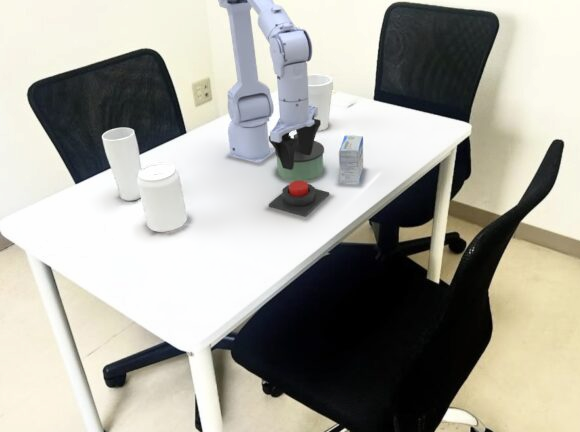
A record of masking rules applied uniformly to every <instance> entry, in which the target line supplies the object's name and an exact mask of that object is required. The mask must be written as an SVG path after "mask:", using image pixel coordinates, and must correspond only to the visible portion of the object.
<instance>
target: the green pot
mask: <svg viewBox="0 0 580 432" xmlns="http://www.w3.org/2000/svg"><path fill="white" fill-rule="evenodd" d="M276 167H277V174H278V175H279V177H281V178H283V179H284V180H287V181H291V182H294V181H305V182H307V181H311V180H313V179H316V178H318V177H319V176H321V175H322V174H323V172H324V154H323V155H322V156H320V157H319V158H317V159H315V160H312V161H307V162H294V167H293V169H292V170H289V169H285V168H283V167H282V164H281V161H280V159H279V158H278V157H277V156H276Z"/></svg>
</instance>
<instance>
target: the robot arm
mask: <svg viewBox="0 0 580 432" xmlns="http://www.w3.org/2000/svg"><path fill="white" fill-rule="evenodd" d="M217 1H218V4H219V5H218V6H219V7H220V8H223V9H226V12H227V15H228V22H229V29H230V36H231V44H232V51H233V57H234V64H235V72H236V79H237V81H236V83H234V84H233V85H232V87H231V88H230V89H228V90H227V111H228V115H229V118H230V122H229V125H228V128H227V136H228V143H229V154H228V156H230V157H234V158H238V159H242V160H247V161H251V162H255V163H261V162H262V161H264V160H265V159H267V158H268V157H269V156H271V155H272V154H275V150H276V152H277V154H278V156H279V158H280V161H281V164H282V167H283V168H285V169H289V170H292V169H293V167H294V153H295V147H296V144H297V142H298V140H299V148H300V152H301V154H304V155H309V156H310V155H311V152H312V148H313V143H314V141H315V138H316V135H317V133H318V131H317V130H318V128H319V126H320V125H321V121H320V120H318V119H314V117H316V116H318V108H317V107H316V106H310V105H309V98H308V75H309V74H308V62H310V61H311V59H312V57H313V44H312V39H311V37H310V35H309V32H308V31H307V30H306V28H301V27H300V26H298V27H297V26H296V25H295V24H294V22H293V20H292V19H291V18H290V16H289V14H288V13H287V12H286V10H285V9H284V7H283V6H281V5H279V4H275V2H274V0H217ZM252 9H253V10H254V11H255V13H256V14H257V15H258V16H257V25H258V28H259V29H260V31H261V33H262V35H263V36H264V37H265V39H266V41H267V43H268V44H269V54H270V58H271V62H272V67H273V73H274V74H275V75H276V83H277V96H278V97H277V98H278V111H279V118H278V120H277V122H276V124H274V127H273V128H272V129H271V130H270V131H269V129H268V122H270V118H271V117H272V116H273V115H274V114H273V113H274V102H273V98H272V95H271V90H270V88H269V86H268V85H267V84H265V83H264V82H262V81H260V80H259V75H258V73H259V72H258V66H257V59H256V58H257V57H256V49H255V42H254V41H255V40H254V32H253V25H252V15H251V10H252ZM294 131H296V134H297V135H298V139H294V137H292V136H291V135H290V133H291V132H294ZM270 144H271V146H273V148H272V147H270Z"/></svg>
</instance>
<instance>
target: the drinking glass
mask: <svg viewBox="0 0 580 432" xmlns="http://www.w3.org/2000/svg"><path fill="white" fill-rule="evenodd" d="M101 140H102V145H103V148H104V153H105V156H106V158H107V162H108V164H109V166H110V170H111V172H112V175H113V178H114V180H115V183H116V186H117V189H118V193H119V197H120V198H121V199H122V200H123V201H129V202H130V201H131V202H132V201H136V200H139V199H141V197H140V192H139V188H138V184H137V178H138V172H139V171H140V170H141V169H142V164H141V157H140V148H139V144H138V139H137V136H136V133H135V129H133V128H130V127H115V128H112V129H109V130H107V131H105V132H103V134H102V135H101Z"/></svg>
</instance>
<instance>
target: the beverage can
mask: <svg viewBox="0 0 580 432" xmlns="http://www.w3.org/2000/svg"><path fill="white" fill-rule="evenodd" d="M137 184H138V188H139V192H140V197H141V198H140V201H141V204H142V205H141V206H142V208H143V213H144V218H145V222H146V226H147V227H148V228H149V229H150V230H151V231H154V232H158V233H159V232H160V233H165V232H171V231H175V230H177V229H179V228H181V227H182V226H184V225H185V224H186V223H187V220H188V214H187V213H188V212H187V208H186V202H185V198H184V197H185V196H184V192H183V188H182V181H181V176H180V172H179V170H177V168H176V166H175V165H173V164H172V163H169V162H156V163H151V164H147V165H145V166H144V167H141V170H140V171H139V172H138V178H137Z"/></svg>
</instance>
